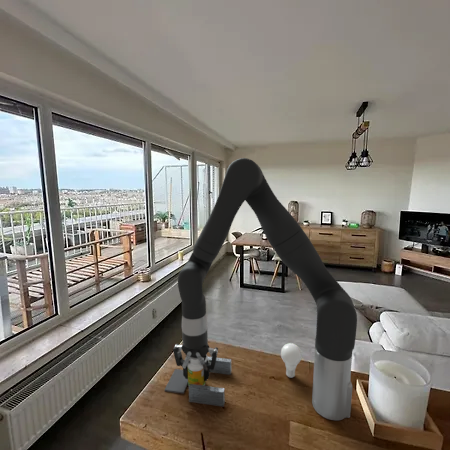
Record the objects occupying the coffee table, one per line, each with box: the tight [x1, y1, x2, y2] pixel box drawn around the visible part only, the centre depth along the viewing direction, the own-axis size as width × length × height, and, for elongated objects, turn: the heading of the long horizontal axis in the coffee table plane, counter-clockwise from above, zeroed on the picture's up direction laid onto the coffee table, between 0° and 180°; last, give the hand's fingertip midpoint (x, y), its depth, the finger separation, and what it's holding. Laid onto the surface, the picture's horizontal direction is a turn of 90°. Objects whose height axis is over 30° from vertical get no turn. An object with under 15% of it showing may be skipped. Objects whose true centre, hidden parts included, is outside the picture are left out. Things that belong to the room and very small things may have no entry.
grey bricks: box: [188, 356, 232, 407], centre depth 82 cm, size 10×14×4 cm
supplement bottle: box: [187, 357, 206, 387], centre depth 82 cm, size 5×5×10 cm
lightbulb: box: [280, 342, 303, 378], centre depth 85 cm, size 6×6×11 cm
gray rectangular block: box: [164, 368, 189, 395], centre depth 84 cm, size 6×9×1 cm, turn 170°
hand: (196, 377), depth 83 cm, fingers closed on supplement bottle, 5 cm apart
